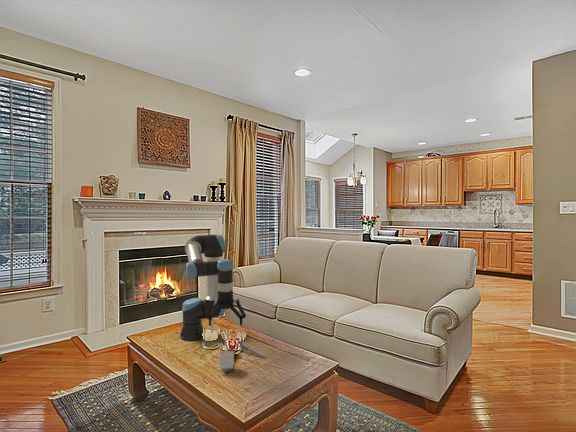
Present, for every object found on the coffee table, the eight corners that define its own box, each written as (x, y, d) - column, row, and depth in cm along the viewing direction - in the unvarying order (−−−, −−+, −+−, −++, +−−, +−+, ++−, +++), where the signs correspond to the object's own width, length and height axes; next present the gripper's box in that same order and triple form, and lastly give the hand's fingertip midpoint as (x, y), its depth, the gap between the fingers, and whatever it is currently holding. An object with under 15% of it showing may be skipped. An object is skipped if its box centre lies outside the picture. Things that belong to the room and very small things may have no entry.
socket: (222, 362, 175) (222, 351, 175) (234, 362, 176) (233, 351, 175) (220, 368, 169) (220, 356, 169) (232, 368, 170) (232, 356, 169)
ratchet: (232, 372, 170) (231, 359, 170) (220, 372, 170) (220, 360, 170) (237, 353, 192) (237, 342, 192) (227, 353, 192) (227, 342, 192)
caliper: (237, 351, 196) (237, 340, 195) (238, 350, 197) (238, 339, 196) (266, 359, 185) (266, 348, 184) (267, 358, 186) (267, 347, 185)
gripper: (198, 292, 168) (199, 334, 169) (249, 292, 169) (249, 334, 170) (202, 288, 176) (202, 329, 177) (250, 288, 177) (251, 328, 178)
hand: (225, 331), depth 173 cm, fingers open, 13 cm apart
